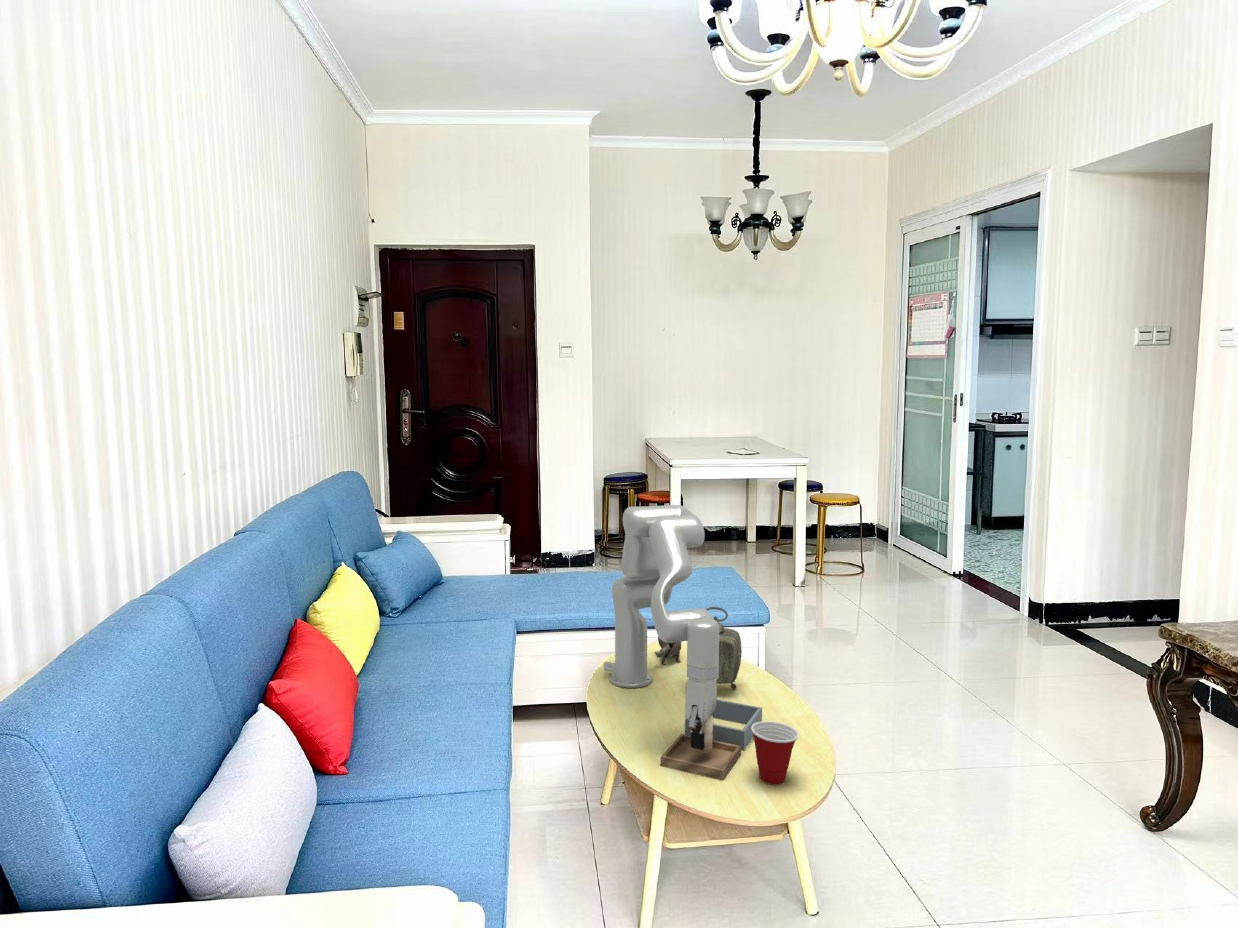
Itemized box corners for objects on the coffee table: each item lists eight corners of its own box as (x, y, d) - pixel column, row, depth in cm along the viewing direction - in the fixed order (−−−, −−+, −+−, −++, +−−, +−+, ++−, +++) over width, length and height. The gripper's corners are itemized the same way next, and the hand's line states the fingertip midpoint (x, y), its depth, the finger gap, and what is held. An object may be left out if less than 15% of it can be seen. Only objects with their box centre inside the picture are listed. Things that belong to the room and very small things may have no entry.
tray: (660, 765, 203) (660, 756, 202) (681, 742, 215) (681, 733, 214) (723, 780, 196) (723, 770, 196) (741, 754, 208) (741, 746, 208)
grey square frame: (684, 738, 217) (684, 719, 216) (705, 714, 231) (705, 697, 230) (744, 750, 210) (744, 731, 210) (761, 725, 224) (762, 707, 224)
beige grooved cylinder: (688, 750, 204) (688, 718, 203) (695, 742, 208) (696, 710, 207) (708, 754, 201) (708, 722, 200) (715, 746, 206) (715, 714, 205)
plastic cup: (806, 786, 193) (807, 736, 192) (762, 793, 190) (763, 742, 188) (783, 764, 203) (785, 716, 202) (742, 770, 200) (743, 722, 199)
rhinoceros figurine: (684, 642, 280) (679, 614, 270) (684, 678, 270) (679, 651, 260) (660, 643, 281) (655, 615, 271) (660, 679, 271) (654, 652, 261)
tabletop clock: (740, 687, 249) (742, 604, 246) (737, 700, 241) (739, 614, 237) (691, 682, 253) (692, 601, 249) (686, 694, 244) (687, 610, 241)
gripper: (700, 656, 211) (699, 726, 214) (674, 680, 196) (673, 755, 199) (729, 661, 208) (727, 732, 211) (705, 685, 193) (704, 761, 195)
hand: (701, 742), depth 205 cm, fingers closed on beige grooved cylinder, 5 cm apart
